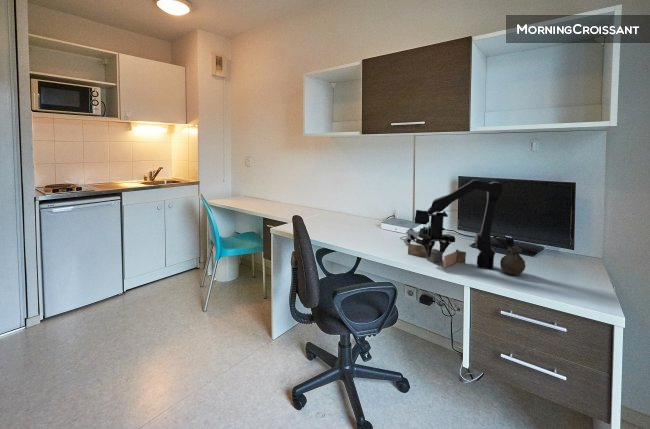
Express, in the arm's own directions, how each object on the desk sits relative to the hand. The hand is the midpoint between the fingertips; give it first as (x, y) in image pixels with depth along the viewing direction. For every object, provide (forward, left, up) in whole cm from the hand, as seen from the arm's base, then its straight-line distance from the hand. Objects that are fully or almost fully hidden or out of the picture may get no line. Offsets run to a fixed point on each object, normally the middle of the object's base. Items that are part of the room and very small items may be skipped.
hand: (434, 256), depth 167 cm
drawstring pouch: (-33, -1, -3) cm, 33 cm away
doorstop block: (0, 0, -3) cm, 3 cm away
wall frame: (+1, -5, -2) cm, 6 cm away
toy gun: (+14, -21, -3) cm, 25 cm away
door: (-8, +1, -2) cm, 8 cm away
